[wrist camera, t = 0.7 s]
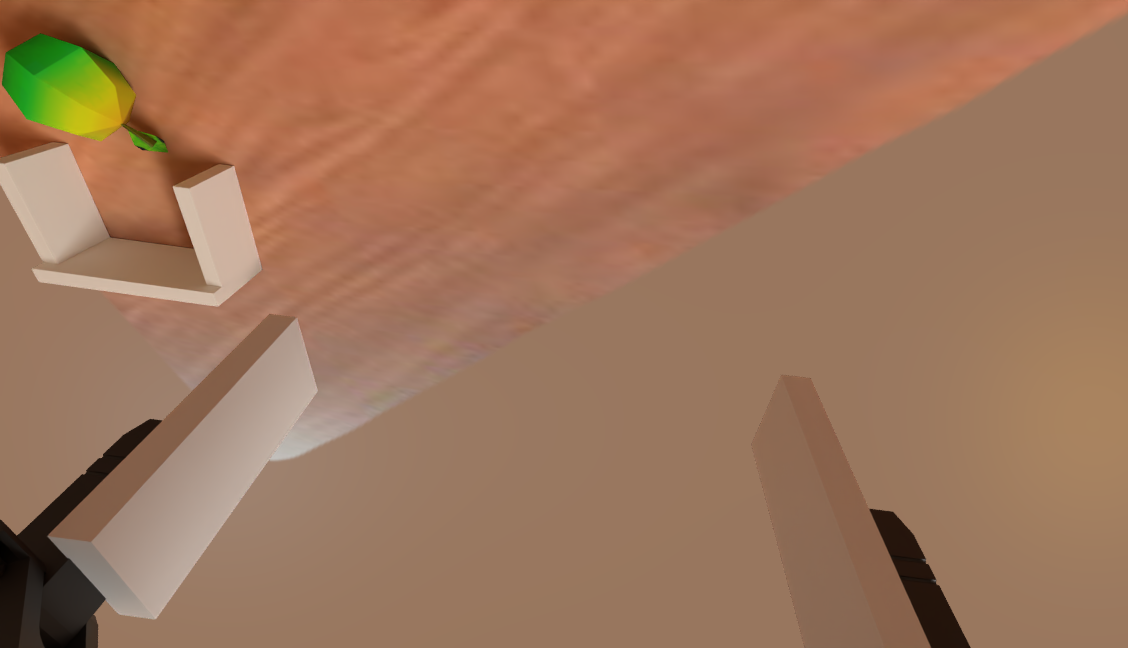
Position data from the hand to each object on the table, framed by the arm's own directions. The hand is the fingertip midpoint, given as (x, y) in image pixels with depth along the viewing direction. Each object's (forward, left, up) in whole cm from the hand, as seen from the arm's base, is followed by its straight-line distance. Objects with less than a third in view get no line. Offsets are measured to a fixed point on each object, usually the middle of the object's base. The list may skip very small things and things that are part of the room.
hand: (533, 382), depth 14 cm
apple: (+1, -34, -27) cm, 43 cm away
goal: (+10, -34, -26) cm, 44 cm away
